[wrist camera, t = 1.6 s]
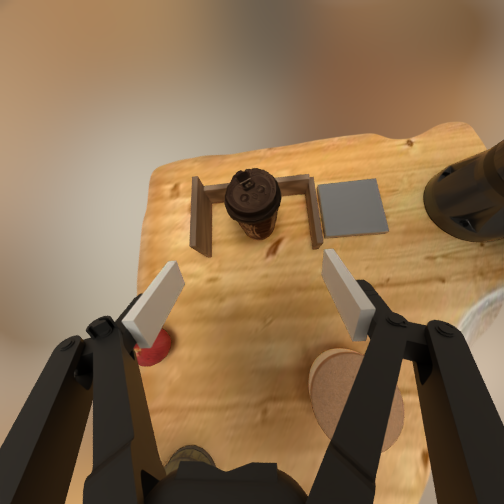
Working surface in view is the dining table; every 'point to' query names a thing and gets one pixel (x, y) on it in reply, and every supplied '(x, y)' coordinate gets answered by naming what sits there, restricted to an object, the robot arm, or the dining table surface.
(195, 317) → the dining table surface
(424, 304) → the dining table surface
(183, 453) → the thermos
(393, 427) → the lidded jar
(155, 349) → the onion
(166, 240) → the dining table surface
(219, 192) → the u-shaped wooden frame
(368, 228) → the slate pad
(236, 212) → the coffee cup
